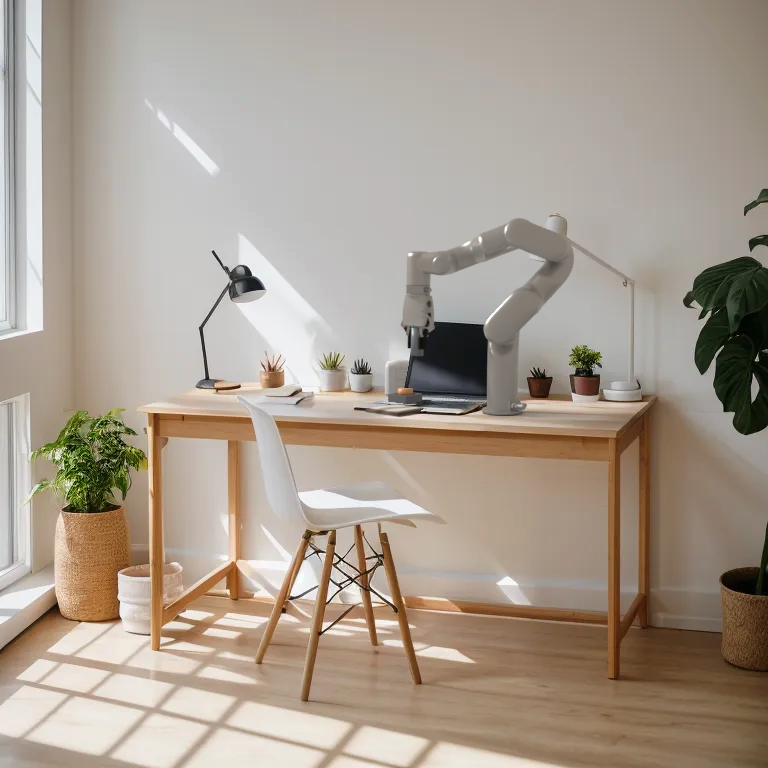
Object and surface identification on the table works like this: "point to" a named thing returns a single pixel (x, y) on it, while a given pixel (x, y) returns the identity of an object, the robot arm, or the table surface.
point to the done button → (405, 391)
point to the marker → (415, 341)
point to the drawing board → (394, 410)
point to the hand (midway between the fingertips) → (416, 348)
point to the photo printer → (395, 375)
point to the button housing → (405, 398)
